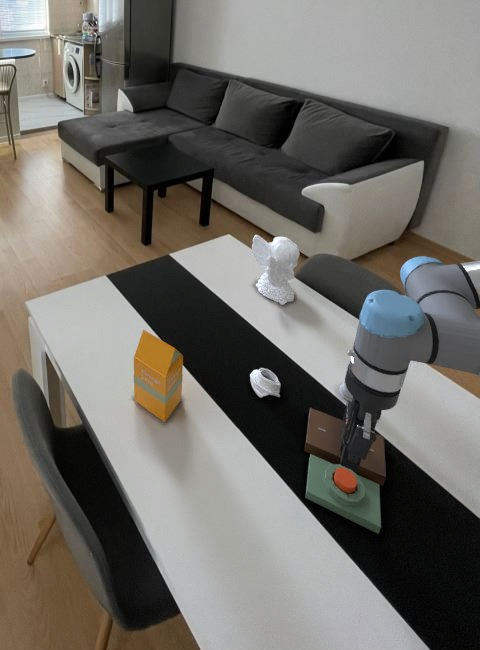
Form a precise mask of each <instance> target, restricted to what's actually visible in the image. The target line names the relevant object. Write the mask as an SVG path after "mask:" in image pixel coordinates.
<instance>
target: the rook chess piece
mask: <svg viewBox="0 0 480 650" xmlns="http://www.w3.org/2000/svg"><path fill="white" fill-rule="evenodd" d="M338 391H339V394H340V396H341V397H342V398H343V399H344V400H346V401H347V400H349V401H351V402H352V400H353V396H352V395H351V393H350V392H349V391H348V389H347V387H346V384H345V381H344V382H342V383H341V384H340V386H339V388H338Z"/></svg>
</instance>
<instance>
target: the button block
mask: <svg viewBox="0 0 480 650" xmlns="http://www.w3.org/2000/svg"><path fill="white" fill-rule="evenodd" d="M338 468H345V469H347V470H349V471H350V472H352V473H353V474H354V476H355V477H356V480H357V485H356V489H355V491H354V492H353V493H350V494H349V493H345V492H343V491H341V490H340V489H339V488H338V487H337V486H336V484H335V482H334V475H335V471H336V470H337V469H338ZM380 489H381V488H380V485H379V484H377V483H375V482H372V481H370V480H368V479H366V478H363V477H361V476H359V475H357V474H356V473H354V472H353V471H352V470H351V469H348V468H346V467H344V466H342V465H341V464H332V463H330V462H327V461H325V460H323V459H321V458H319V457H316V456H314V455H312V454H309V459H308V466H307V477H306V487H305V499H307V500H309V501H311V502H313V503H315V504H317V505H319V506H321V507H323V508H325V509H327V510H329V511H331V512H333V513H335V514H337V515H339V516H341V517H342V518H345V519H346V520H349V521H351V522H353V523H354V524H357V525H360V526H361V527H364V528H366V529H368V530H369V531H371V532H373V533H376V534H377V535H379V534H380V531H381V529H382V517H381V516H382V515H381V513H382V512H381V496H380V495H381V492H380V491H381V490H380Z"/></svg>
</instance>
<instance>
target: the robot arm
mask: <svg viewBox="0 0 480 650" xmlns="http://www.w3.org/2000/svg"><path fill="white" fill-rule="evenodd" d="M399 276H400V280H401V283H402V286H403V290H404V292H405V295H404V294H400V293H398V292H397V291H395V290H390V289H378V290H375V291H372V292H370V293H369V294H368V295H367V296H366V297H365V300H364V302H363V304H362V307H361V308H362V309H361V311H360V312H359V315H358V324H357V329H356V333H355V337H354V341H353V345H352V349H347V351H346V352H347V353H346V354H347V356H349V357H350V358H349V363H348V365H347V368H346V372H345V377H344V382H345V384H346V387H347V389H348V391H349V392H350V393H351V395H352V396H353V400H352V406H351V411H350V416H349V418H348V422H349V428H348V429H347V432H348V434H349V435H350V436H348V435H347V437H346V439H345V438H343V445H344V448H343V452H342V455H341V465H342V466H344V467H346V468H348V469H351V470H353V471H355V472H358V469H359V465H360V462H361V459H363V460H365V458H366V456H367V454H368V452H369V450H370V448H371V445H372V443H373V442H375V440H376V434H377V433H375V429H376V427H377V423H378V421H379V420H380V419H381V416H382V411H388V410H391V409H393V408H394V407H395V406H396V405H397V403H398V400H399V396H400V393H401V390H402V388H403V386H404V382H405V379H406V377H407V373H408V370H409V366H410V363H411V361H412V362H416V363H421V364H427V365H432V366H436V367H442V368H445V369H451V370H455V371H460V372H464V373H469V374H474V375H476V376H479V377H480V316H479V314H478V312H477V311H476V310H480V260H474V261H468V262H460V263H454V264H447V265H446V264H444V263H443V262H442V261H441V260H439V259H437V258H435V257H429V256H426V255H423V256H415V257H412V258H410V259H408V260H407V261H405V262H404V263H403V264H402V266H401V268H400V271H399ZM374 433H375V434H374Z"/></svg>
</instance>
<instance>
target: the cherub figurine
mask: <svg viewBox="0 0 480 650" xmlns="http://www.w3.org/2000/svg"><path fill="white" fill-rule="evenodd" d="M251 249H252V250H251V254H252V257H253V258H254V260H255V262H256V263H257V264H258V265H259V266H260V267H261V268H263V269H264V271H265V272H264V273H262V274H261V276H260V277H259V279H258V280H257V283H255V288H257V290H258V292H259V293H260V294H261V295H263V296H264V297H265V298H268V299H269V300H272V301H274V302H276V303H279V304H280V305H281V306H282V305H283V306H284V305H285V304H286V303H289V302H294V300H295V294H296V291H295V289H294V288H293V287H292V285H291V284H290V283H289V282H288V281H292V280H294V279H295V271H294V269H295V268H296V267H297V266H298V261H299V258H300V255H301V253H300V249H299V246H298V245H297V244H296V243H295V242H294V241H293V240H292V239H290V238H289V237H287V236H275V237H273V240H272V242H271V241H269V242H268V241H267V240H265V239H264V238H263V237H262V236H260V235H259V234H255V235H254V236H253V238H252V244H251Z"/></svg>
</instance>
